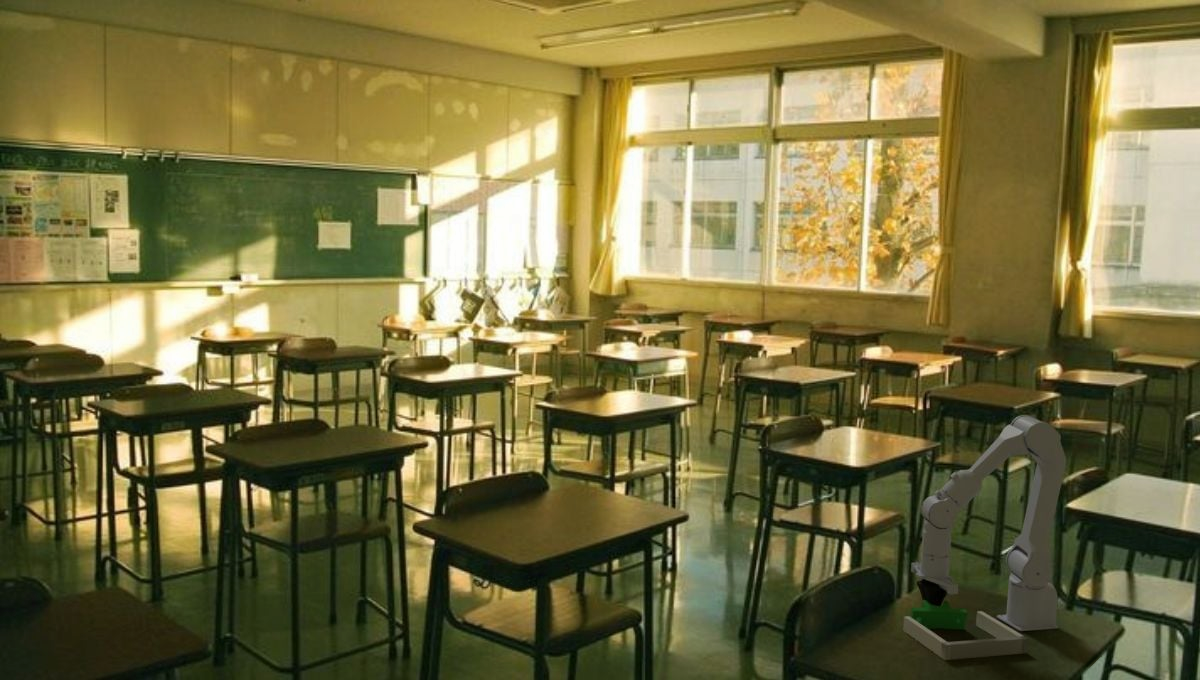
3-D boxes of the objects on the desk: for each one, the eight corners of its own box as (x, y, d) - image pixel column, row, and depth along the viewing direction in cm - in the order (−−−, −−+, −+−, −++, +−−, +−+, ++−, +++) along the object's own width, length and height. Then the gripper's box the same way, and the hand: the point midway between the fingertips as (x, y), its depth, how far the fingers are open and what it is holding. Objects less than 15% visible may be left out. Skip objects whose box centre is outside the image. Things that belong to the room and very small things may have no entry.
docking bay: (980, 624, 214) (981, 611, 214) (1026, 653, 200) (1027, 638, 200) (903, 630, 209) (904, 616, 209) (944, 660, 195) (945, 645, 195)
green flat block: (958, 618, 215) (962, 601, 213) (963, 630, 212) (967, 612, 210) (905, 616, 215) (908, 598, 213) (909, 628, 212) (913, 610, 210)
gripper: (900, 543, 220) (896, 604, 222) (938, 565, 206) (933, 629, 208) (929, 542, 222) (924, 602, 224) (968, 563, 208) (964, 627, 210)
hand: (931, 615), depth 216 cm, fingers closed
